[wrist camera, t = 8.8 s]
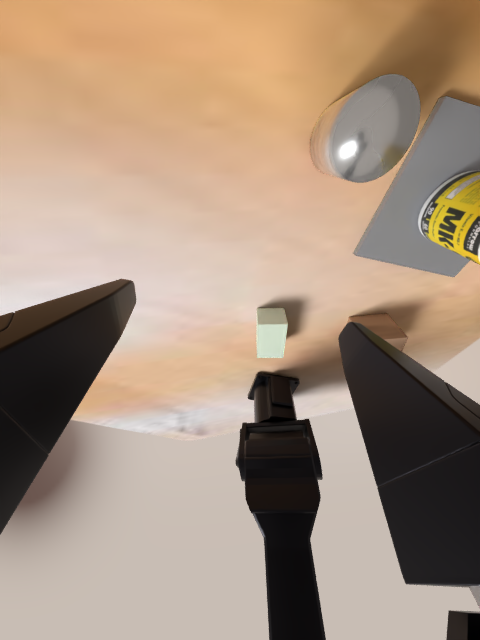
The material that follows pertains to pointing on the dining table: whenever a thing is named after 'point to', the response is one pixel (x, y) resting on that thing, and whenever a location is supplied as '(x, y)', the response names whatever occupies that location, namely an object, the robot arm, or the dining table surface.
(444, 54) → the dining table surface
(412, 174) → the coaster
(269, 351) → the sage box
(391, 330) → the walnut block
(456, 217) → the supplement bottle
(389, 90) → the metal shaker
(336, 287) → the dining table surface
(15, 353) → the robot arm
